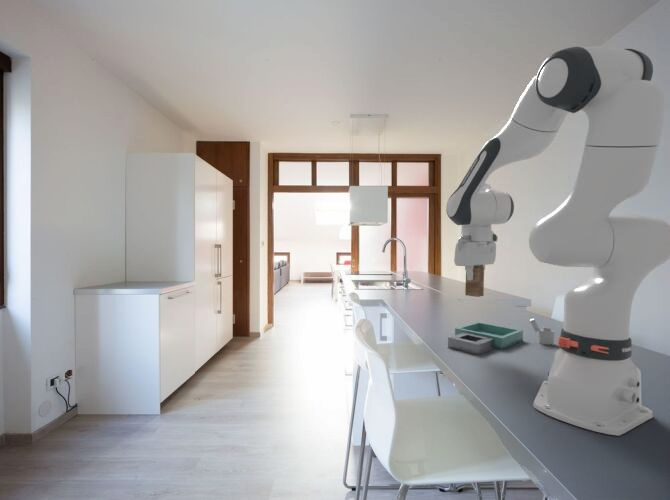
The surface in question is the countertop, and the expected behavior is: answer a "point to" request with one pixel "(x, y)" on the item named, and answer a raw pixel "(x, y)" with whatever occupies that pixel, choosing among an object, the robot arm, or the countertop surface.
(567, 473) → the countertop surface
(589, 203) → the robot arm
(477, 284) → the brown wooden tall block
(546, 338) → the lighter
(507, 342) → the tray
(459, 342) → the grey square box
